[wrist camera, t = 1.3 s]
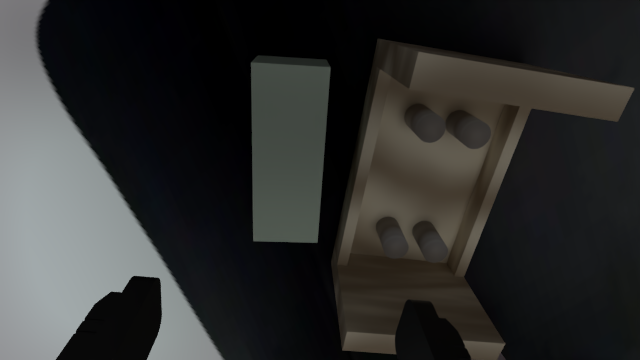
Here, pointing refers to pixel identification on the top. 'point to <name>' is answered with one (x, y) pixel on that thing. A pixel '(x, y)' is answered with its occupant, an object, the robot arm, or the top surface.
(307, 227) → the grey-green rectangular block
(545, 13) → the top surface
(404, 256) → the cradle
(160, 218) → the top surface
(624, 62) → the top surface
